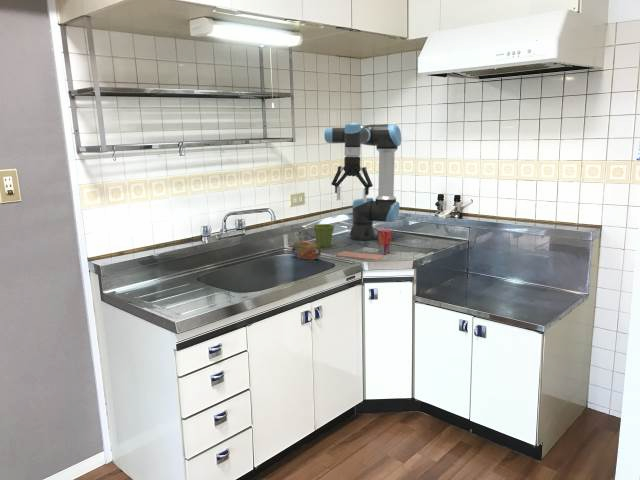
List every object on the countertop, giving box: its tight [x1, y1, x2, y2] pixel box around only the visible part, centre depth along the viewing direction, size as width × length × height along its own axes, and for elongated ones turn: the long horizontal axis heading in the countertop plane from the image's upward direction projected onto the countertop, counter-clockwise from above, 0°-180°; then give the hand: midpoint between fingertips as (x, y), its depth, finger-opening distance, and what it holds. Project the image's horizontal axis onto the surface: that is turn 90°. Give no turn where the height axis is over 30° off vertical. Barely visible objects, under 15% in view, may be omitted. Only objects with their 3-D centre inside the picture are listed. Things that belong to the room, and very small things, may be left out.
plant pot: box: [312, 223, 335, 248], centre depth 284 cm, size 12×12×11 cm
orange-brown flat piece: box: [291, 240, 322, 261], centre depth 257 cm, size 15×3×8 cm, turn 62°
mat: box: [335, 250, 386, 261], centre depth 261 cm, size 10×22×1 cm, turn 64°
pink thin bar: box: [346, 250, 388, 256], centre depth 267 cm, size 2×22×1 cm, turn 64°
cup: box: [374, 227, 394, 254], centre depth 269 cm, size 9×8×12 cm
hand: (351, 201), depth 254 cm, fingers open, 13 cm apart
